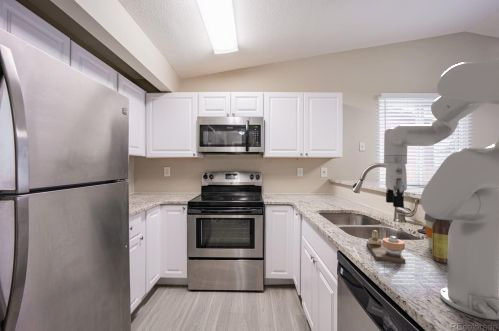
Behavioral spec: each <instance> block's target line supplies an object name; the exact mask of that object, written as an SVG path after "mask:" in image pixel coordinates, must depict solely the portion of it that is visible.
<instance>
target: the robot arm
mask: <svg viewBox="0 0 499 331" xmlns="http://www.w3.org/2000/svg"><path fill="white" fill-rule="evenodd" d="M436 91H437V94H438V95H439V96H438V97H437V98H435V99H434V100H433V102H432V104H431V105H430V111H431V113H432V115H433V117H434V118H435V120H434V121H433V122H431V123H430V124H429V123H428V124H415V123H414V124H407V123H406V124H399V125H397V126H394V127H391V128H387V129H385V131H384V136H383V137H384V138H383V140H384V143H383V144H384V145H383V155H384V156H383V164H384V165H385V166H386V167H385V187H386V190H385V202H386V203H387V204H389V203H390V204H392V207H393V208H404V206H405V204H404V203H405V202H404V201H405V200H404V196H405V191H406V190H407V189H408V184H407V183H408V181H407V167H406V165H407V164H408V147H430V146H434V145H436V144H438V143H441V141H444V140H445V139H447V138H449V137H450V136H451V135H453V133H454V132H455V131H456V130H457V128H458V126H459V122H460V121H461V120H462V119H464V118H465V117H467V116H468V115H470V114H472V113H473V112H475V111H477V110H479V109H480V108H481V107H483V106H485V105H486V104H489V105H499V59H497V60H496V59H495V60H485V61H483V60H482V61H473V62H471V61H470V62H460V63H458V64H455V65H452V66H451V67H449V68H448V69H447V70H446V71H444V72H443V73H442V74H441V75H440V78H439V79H438V82H437V84H436ZM420 205H421V208H422V210H423V211H424V213H427V214H428V215H429V216H431V217H433V218H436V219H441V220H453V222H452V223H451V226H450V228H449V232H448V263H447V281H446V282H447V286H446V287H443V288H441V289H440V290H439V296H440V298H441V299H442V301H443V302H445V303H446V304H448V305H449V306H450V307H452V308H454V309H456V310H458V311H460V312H463V313H465V314H468V315H470V316H474V317H477V318H482V319H486V320H491V321H493V320H494V321H499V138H498V139H497V140H496V141H494V143H492V145H490V146H487V147H485V146H484V147H478V146H477V147H475V146H474V147H473V146H472V147H465V148H461V149H458V150H456V151H454V152H452V153H451V154H449V155H448V156H447V157H446V158H445V159H444V160H443V162H442V163H441V164H440V166H438V168H437V169H436V171H435V173H434V174H433V175H432V176H431V178H430V180H428V182H427V184H426V185H425V187H424V188H423V191H422V192H421V196H420Z"/></svg>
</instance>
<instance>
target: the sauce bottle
mask: <svg viewBox="0 0 499 331" xmlns="http://www.w3.org/2000/svg"><path fill="white" fill-rule="evenodd" d="M450 226H451V225H450V222H449V220H441V219H436V220H435V222H434V223H433V225H432V249H431V252H432V254H431V255H432V258H433V260H434V261H436V262H438V263H442V264H448V232H449V228H450Z"/></svg>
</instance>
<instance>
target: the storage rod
mask: <svg viewBox="0 0 499 331" xmlns="http://www.w3.org/2000/svg"><path fill="white" fill-rule="evenodd" d="M389 238H390V241H391V242H397V239H398V236H394V235H390V236H389ZM386 255H388V256H390V257H395V258H399V257H401V255H402V251H397V250H391V249H387V248H386Z"/></svg>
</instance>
